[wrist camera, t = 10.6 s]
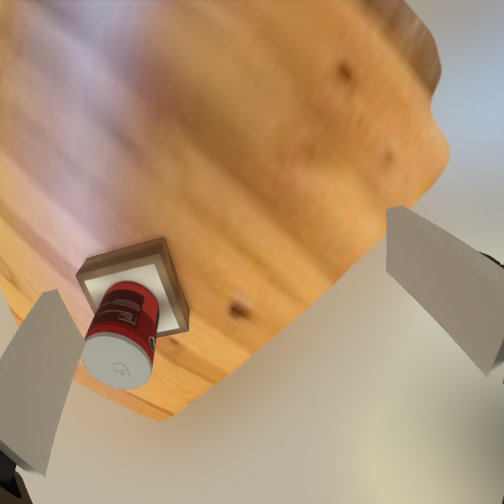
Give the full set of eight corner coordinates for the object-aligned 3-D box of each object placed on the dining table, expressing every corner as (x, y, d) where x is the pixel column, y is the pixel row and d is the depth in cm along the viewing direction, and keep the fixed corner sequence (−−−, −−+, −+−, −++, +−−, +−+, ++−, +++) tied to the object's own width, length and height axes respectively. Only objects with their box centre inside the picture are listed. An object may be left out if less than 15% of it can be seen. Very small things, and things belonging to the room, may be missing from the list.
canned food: (133, 338, 40) (121, 398, 30) (92, 300, 36) (66, 356, 26) (173, 311, 39) (167, 372, 29) (130, 267, 35) (108, 323, 25)
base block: (86, 258, 39) (74, 276, 35) (164, 237, 40) (159, 254, 35) (118, 325, 44) (111, 346, 40) (189, 310, 45) (188, 332, 40)
